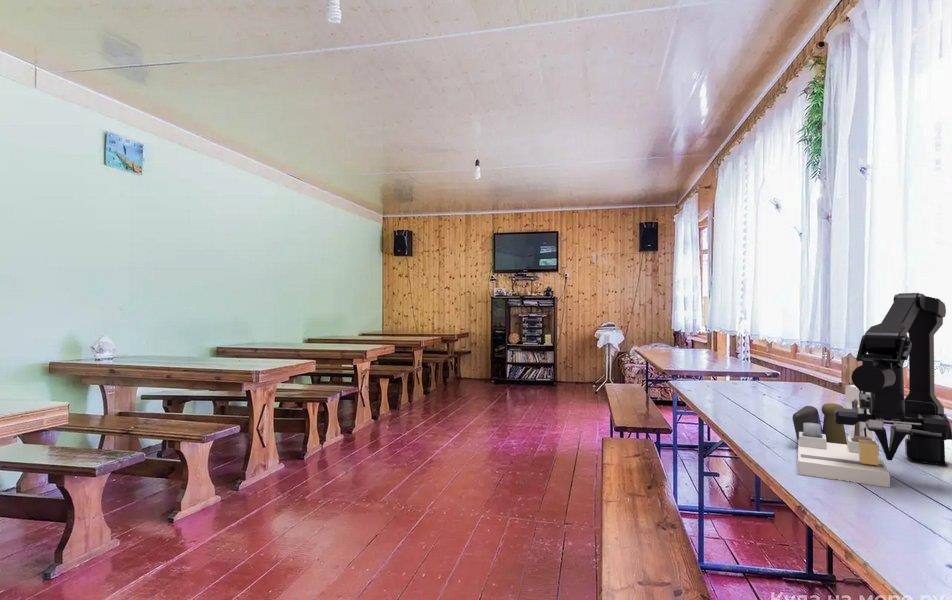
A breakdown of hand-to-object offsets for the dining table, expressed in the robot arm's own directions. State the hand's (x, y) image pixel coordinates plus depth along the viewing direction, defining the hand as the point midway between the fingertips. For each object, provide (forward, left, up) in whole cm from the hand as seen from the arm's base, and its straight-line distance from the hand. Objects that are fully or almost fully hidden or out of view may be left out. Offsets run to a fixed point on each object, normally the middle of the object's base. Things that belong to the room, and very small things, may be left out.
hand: (889, 459), depth 106 cm
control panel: (+9, -6, -5) cm, 11 cm away
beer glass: (+2, -40, -5) cm, 40 cm away
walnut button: (+4, -12, -1) cm, 13 cm away
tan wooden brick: (+4, 0, -1) cm, 4 cm away
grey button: (+14, -12, +1) cm, 18 cm away
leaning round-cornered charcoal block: (+14, -26, -5) cm, 30 cm away
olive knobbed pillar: (+8, -30, -5) cm, 32 cm away
